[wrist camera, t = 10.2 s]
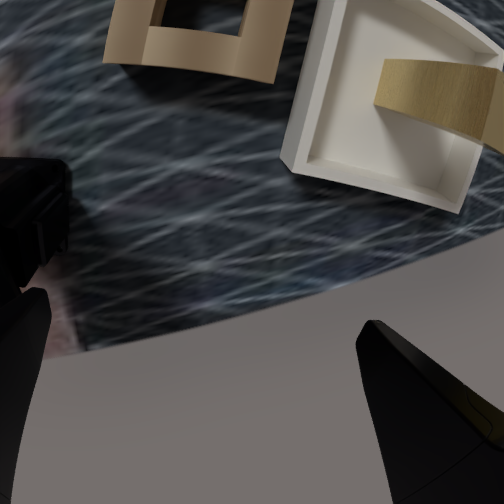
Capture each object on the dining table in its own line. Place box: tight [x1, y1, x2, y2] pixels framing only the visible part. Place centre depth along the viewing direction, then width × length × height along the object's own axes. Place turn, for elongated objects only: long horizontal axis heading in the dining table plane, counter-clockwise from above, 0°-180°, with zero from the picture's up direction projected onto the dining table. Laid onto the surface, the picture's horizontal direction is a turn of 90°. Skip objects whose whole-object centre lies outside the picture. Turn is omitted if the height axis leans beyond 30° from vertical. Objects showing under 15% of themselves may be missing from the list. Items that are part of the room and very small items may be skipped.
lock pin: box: [373, 59, 504, 156], centre depth 12 cm, size 3×3×9 cm
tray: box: [280, 0, 504, 214], centre depth 15 cm, size 12×12×3 cm
